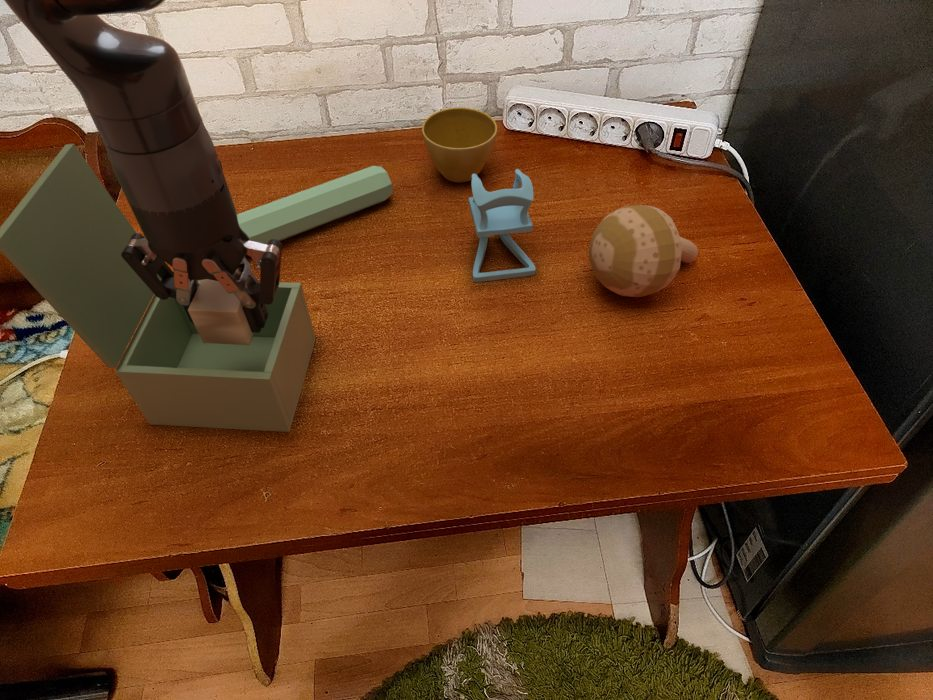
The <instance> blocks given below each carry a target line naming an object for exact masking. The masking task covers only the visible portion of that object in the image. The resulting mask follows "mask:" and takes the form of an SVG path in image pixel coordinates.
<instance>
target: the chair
mask: <svg viewBox="0 0 933 700" xmlns="http://www.w3.org/2000/svg"><path fill="white" fill-rule="evenodd" d="M514 177H515V178H514V180H513V184H512V188H502V189H497V190H493V191H487V189H486V188H485V187H484V185H483V182H482V180H481V178H480V177H479V176H478V175H476V174H472V180H471V182H470V183H471V186H470V187H471V193H472V196H470V197H468V205H469V210H470V214H471V218H472V221H473V225H474V228H475V233H476V237H477V238H479V242H478V247H477V252H476V256H475V259H474V263H473V268H472V281H473V282H474V283H484V282H492V281H498V280H507V279H517V278H523V277H525V278H526V277H532V276H535V275H536V270H537V267H536V265H535V264H534V262H533V261H532V259H531V258H530V257H529V256H528V255H527V254H526V252H524V251H523V249H522V248H521V247H520V245H518V243H516V241H515V240H514V239H513V238H512V236H511V235H510V234H523V233H531V232H533V230H534V229H533V228H534V227H533V226H534V225H533V222H532V219H531V217H530V214H529V212H528V211H529V209H530V207H531V205H532V203H533V201H534V197H535V196H534V186H533V183H532V180H531V179H530V177H529V176H528V175H527V174H525V173H523V172H522V171H521V170H520V169H519V168H516V169H515V170H514ZM520 186H521V187H520ZM498 235H499V239H500V240H501V242H502V243H503V244H504V246H505V247H506V248H507V249H508V250H509V252H511V253H512V254H513V255H514V257H516V259H517V260H518V261H519V262H520V263H521V264H522V265H523V266H524V267H522V268H512V269H503V270H495V271H494V270H493V271H487V272H486V271H485V272H481V269H482V265H483V262H484V258H485V256H486V252H487V247H488V241H489V237H492V236H493V237H494V236H498Z"/></svg>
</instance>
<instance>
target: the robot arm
mask: <svg viewBox="0 0 933 700" xmlns="http://www.w3.org/2000/svg"><path fill="white" fill-rule="evenodd" d="M3 1H4V2H5V4H6V5H7V6H8V8H9V9H10V10H11V11H12V12H13V13H14V15H15V17H17V18H18V20H19V21H20V22H21V24H23V26H24V27H25V28H26V29H27V30H28V31H29V32H30V33H31V35H33V37H34V39H36V40H37V42H39V44H40V45H41V47H43V49H44V50H45V51H46V53H48V54H49V56H50V57H51V59H53V61H54V62H55V64H57V66H58V67H59V68H60V70H61V71H62V72H63V73H64V75H65V76H66V77H67V78H68V79H69V80H70V82H71V83H72V84H73V86H74V87H75V88H76V90H77V91H78V93H79V94H80V96H81V98H82V100H83V103H84V105H85V106H86V109H87V111H88V113H89V115H90V118H91V119H92V122H93V124H94V125H95V128H96V131H97V132H98V134H99V137H100V138H101V141H102V142H103V145H104V147H105V150H106V152H107V157H108V161H109V164H110V167H111V169H112V172H113V173H114V176H115V179H116V180H117V182H118V184H119V186H120V188H121V191H122V193H123V194H124V196H125V199H126V200H127V202H128V205H129V207H130V209H131V211H132V213H133V215H134V217H135V220H136V221H137V223H138V226H139V228H140V229H141V232H142V234H141V233H138V232H136V233H135V234H133V235H132V237H131V238H130V240H129V242H128V243H127V245H126V247H125V248H124V250H123V252H122V254H121V256H122V258H123V259H124V260H125V261H126V262H127V263H128V265H129V266H130V267H131V268H132V269H133V270H134V271H135V273H136V274H137V275H138V276H139V277H140V278H141V279H142V281H143V282H144V283H145V284H146V285H147V286H148V287H149V289H150V290H151V291H152V292H153V293H154V295H156V297H158V298H159V299H162V300H166V299H168V297H171V298H174V299H176V300H177V302H178V303H179V304H181V305H183V307H184V309H185V312H186V314H187V316H188V318H189V320H190V322H192V323H193V320H192V318H191V316H190V314H189V312H188V309H189V306H190V304H191V302H192V300H193V298H194V296H195V293H196V291H197V286H198V280H204V279H210V280H214V281H219V283H220V284H221V285H222V286H223V287H224V289H225V290H226V291H227V292H228V293H229V294H231V293H233V294H234V295H235V296H236V297H237V298H238V300H239V301H240V302H241V303H242V304H243V311H244V314H245V316H246V319H247V322H248V324H249V327H250V329H251V332H252V333H260V331H261V328H264V326H265V323H266V321H267V318H268V311H267V308H266V305H265V304H267V305H270V304H272V303H273V300H274V296H275V293H276V290H277V288H278V286H279V283H280V282H281V268H282V267H281V266H282V254H283V253H282V251H283V243H282V242H281V241H278V240H276V239H271V240H269V241H268V244H263V243H259V242H254V241H250V239H249V237H248V236H247V234H246V233H245V232H244V231H243V230H242V229H241V228H240V226H239V223H238V218H237V214H238V212H237V209H236V206H235V204H234V200H233V197H232V195H231V192H230V188H229V186H228V183H227V180H226V177H225V174H224V171H223V165H222V161H221V160H220V158H219V156H218V153H217V150H216V147H215V144H214V142H213V139H212V138H211V135H210V133H209V132H208V130H207V128H206V126H205V124H204V122H203V120H202V117H201V114H200V111H199V108H198V105H197V103H196V99H195V97H194V93H193V90H192V88H191V85H190V82H189V78H188V76H187V73H186V69H185V67H184V65H183V62H182V60H181V58H180V56H179V53H178V52H177V50H176V49H175V48H174V47H173V46H172V45H171V44H169V43H168V42H167V41H165V40H163V39H161V38H160V37H155V36H153V35H150V34H144V33H138V32H133V31H129V30H125V29H122V28H117V27H116V26H114V25H111V24H109V23H107V22H106V21H104V20H103V18H101V17H100V15H115V14H116V15H117V14H118V15H119V14H135V13H136V14H137V13H144V12H148V11H151V10H154V9H157V7H160V6H161V5H162V4H163V3H165V1H166V0H3ZM246 256H248V257H250V258H251V259H252V261H253V264H254V266H255V270H257V271H260V275H259V279H258V278H257V277H256V275H255V274H254V273H253V271H252V264H251V263H250V262H249V261H248V259H247V258H246ZM171 268H172V269H171ZM157 274H158V275H159V276H160V277H161V281H160V280H159V278H158V277H157ZM259 281H260V282H259ZM246 287H247V288H246ZM193 324H194V323H193Z"/></svg>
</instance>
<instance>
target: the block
mask: <svg viewBox="0 0 933 700" xmlns="http://www.w3.org/2000/svg"><path fill="white" fill-rule="evenodd" d="M246 288H247V287H246ZM188 312H189V314H190V316H191V318H192V320H193V323H194V325H195V327H196V329H197V331H198V333H199V335H200V337H201V340H202V342H203V343H213V344H234V345H250V343H251V340H252V338H253V335H254V333H252V332H251V329H250V327H249V324H248V322H247V319H246V316H245V314H244V311H243V304H242V303H241V302H240V301H239V300H238V298H237V297H236V296H235V295H234V294H233V293H231V294H229V293H228V292H227V291H226V290H225V289H224V287H223V286H222V285H221V284H220V283H219V281H214V280H210V279H204V280H201V283H200V285H199V287H198V289H197V291H196V293H195V296H194V298H193V300H192V302H191V304H190V306H189V309H188Z"/></svg>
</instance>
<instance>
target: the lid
mask: <svg viewBox="0 0 933 700" xmlns="http://www.w3.org/2000/svg"><path fill="white" fill-rule="evenodd" d="M135 233H137V231H136V230H135V228H134V226H133V225H132V224H131V223H130V221H129V220H128V219H127V217H126V216H125V214H124V213H123V212H122V210H121V208H120V207H119V205H117V203H116V202H115V199H114V198H113V197H112V196H111V195H110V193H109V192H108V190H107V189H106V187H105V186H104V184H103V183H102V182H101V180H100V179H99V177H98V176H97V174H96V173H95V172H94V170H93V169H92V167H91V166H90V165H89V163H88V162H87V161H86V159H85V158H84V156H83V155H82V153H81V152H80V150H79V149H78V148H77V146H76V145H75V143H67V144H64V146H63V147H62V148H61V149H60V151H59V152H58V154H56V156H55V157H54V158H53V160H52V161H51V162H50V164H49V165H48V166H47V167H46V169H45V170H44V171H43V173H42V174H41V175H40V176H39V177H38V179H37V180H36V181H35V183H34V184H33V185H32V187H31V188H30V189H29V190H28V192H27V193H26V194H25V195H24V196H23V198H22V199H21V201H20V202H18V204H17V205H16V207H15V208H14V209H13V210H12V212H11V213H10V214H9V216H8V217H7V218H6V219H5V221H3V223H2V225H0V252H1V253H2V254H3V255H4V257H5V258H7V259H8V261H9V262H10V263H11V264H12V265H13V266H14V268H15V269H17V271H18V272H19V273H20V274H21V275H22V276H23V277H24V278H25V280H27V281H28V283H30V284H31V286H32V287H33V288H34V289H35V290H36V291H37V292H38V293H39V295H40V296H42V297H43V299H44V300H45V301H46V302H47V303H48V304H49V305H50V306H51V307H52V309H53V310H54V311H55V312H56V313H57V314H58V315H59V316H60V317H61V318H62V319H63V321H64V322H66V324H67V325H68V326H69V327H70V329H72V330H73V332H74V333H75V334H77V336H78V337H79V338H80V339H81V340H82V341H83V342H84V343H85V345H86V346H88V348H89V349H90V350H91V351H92V352H93V353H94V355H96V356H97V357H98V359H99V360H100V361H101V362H102V363H103V364H104V365H105V366H106V367H107V368H108V369H113V368H114V369H116V368H117V366H118V365H119V363H120V361H121V359H122V357H123V355H124V353H125V351H126V349H127V347H128V345H129V343H130V341H131V339H132V337H133V335H134V333H135V331H136V330H137V328H138V326H139V324H140V322H141V320H142V318H143V316H144V314H145V312H146V310H147V308H148V306H149V304H150V302H151V300H152V298H153V296H154V295H155V294H154V293H153V292H152V291H151V290H150V289H149V287H148V286H147V285H146V284H145V283H144V282H143V281H142V279H141V278H140V277H139V276H138V275H137V274H136V273H135V271H134V270H133V269H132V268H131V267H130V266H129V265H128V263H127V262H126V261H125V260H124V259H123V258H122V256H121V254H122V252H123V250H124V248H125V247H126V245H127V243H128V242H129V240H130V238H131V237H132V235H133V234H135ZM157 277H158V278H159V280H160V281H161V277H160V276H159V275H158V274H157Z"/></svg>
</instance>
